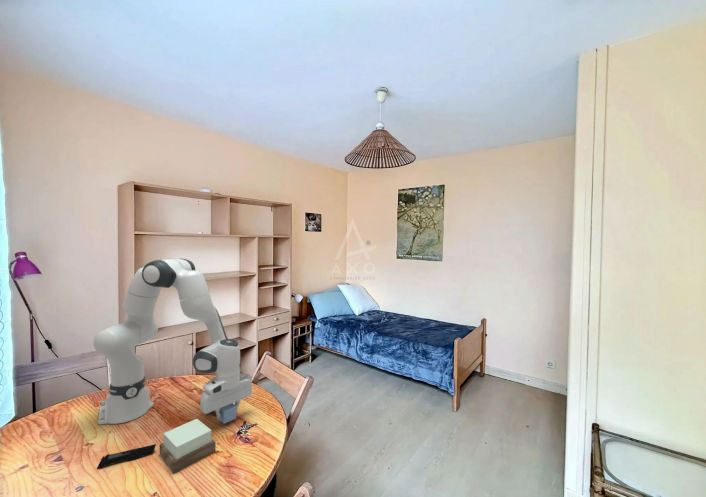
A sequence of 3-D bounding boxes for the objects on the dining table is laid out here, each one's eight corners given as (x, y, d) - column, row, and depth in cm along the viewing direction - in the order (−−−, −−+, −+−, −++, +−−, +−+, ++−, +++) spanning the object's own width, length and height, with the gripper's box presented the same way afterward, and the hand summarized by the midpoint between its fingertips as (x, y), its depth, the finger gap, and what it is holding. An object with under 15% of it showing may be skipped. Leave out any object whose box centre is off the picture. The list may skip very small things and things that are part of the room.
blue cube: (218, 418, 117) (218, 406, 117) (230, 413, 121) (230, 401, 121) (224, 423, 114) (224, 411, 114) (236, 418, 118) (236, 406, 118)
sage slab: (163, 445, 99) (163, 433, 99) (196, 429, 107) (196, 418, 107) (176, 459, 92) (176, 447, 92) (211, 441, 100) (211, 430, 100)
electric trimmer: (154, 456, 99) (155, 447, 99) (96, 471, 92) (96, 461, 92) (156, 449, 102) (156, 440, 102) (100, 463, 95) (100, 453, 95)
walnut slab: (159, 456, 99) (159, 444, 99) (199, 437, 109) (199, 426, 109) (173, 475, 91) (173, 462, 91) (215, 453, 101) (215, 441, 101)
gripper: (247, 370, 128) (246, 401, 128) (198, 386, 112) (197, 422, 112) (255, 374, 124) (254, 407, 124) (205, 392, 108) (205, 429, 108)
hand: (227, 414), depth 118 cm, fingers closed on blue cube, 5 cm apart
